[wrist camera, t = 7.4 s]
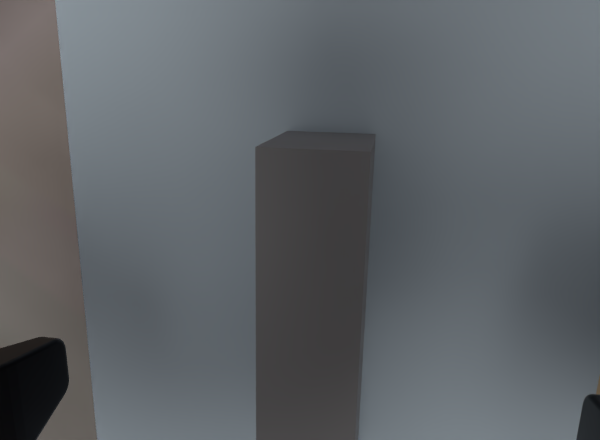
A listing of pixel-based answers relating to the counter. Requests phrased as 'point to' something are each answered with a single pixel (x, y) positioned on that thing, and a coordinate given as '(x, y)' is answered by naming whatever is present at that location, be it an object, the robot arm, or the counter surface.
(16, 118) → the counter surface
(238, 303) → the lid
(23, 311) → the counter surface
